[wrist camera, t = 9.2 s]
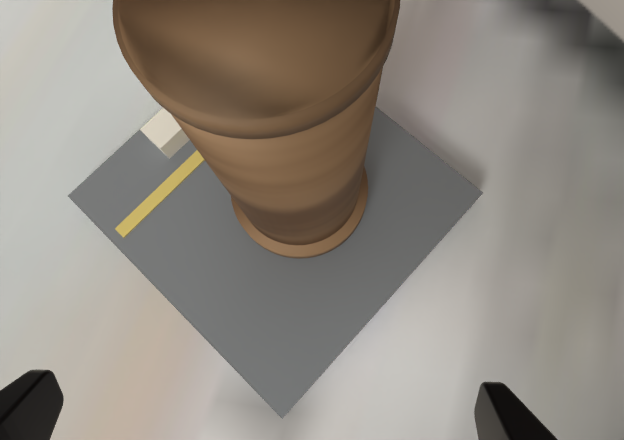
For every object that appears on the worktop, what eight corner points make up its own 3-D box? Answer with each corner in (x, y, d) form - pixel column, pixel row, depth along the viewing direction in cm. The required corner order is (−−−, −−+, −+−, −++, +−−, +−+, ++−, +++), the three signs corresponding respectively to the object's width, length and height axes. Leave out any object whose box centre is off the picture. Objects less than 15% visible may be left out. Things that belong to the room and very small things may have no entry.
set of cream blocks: (279, 54, 22) (277, 38, 21) (169, 158, 21) (160, 148, 20) (260, 37, 23) (256, 21, 21) (150, 140, 21) (139, 129, 20)
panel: (476, 199, 21) (483, 192, 20) (284, 414, 19) (282, 419, 18) (265, 29, 24) (262, 14, 23) (79, 201, 22) (66, 195, 21)
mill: (387, 229, 20) (473, 69, 8) (260, 278, 20) (144, 191, 8) (337, 115, 21) (344, -170, 9) (218, 159, 21) (65, -75, 9)
